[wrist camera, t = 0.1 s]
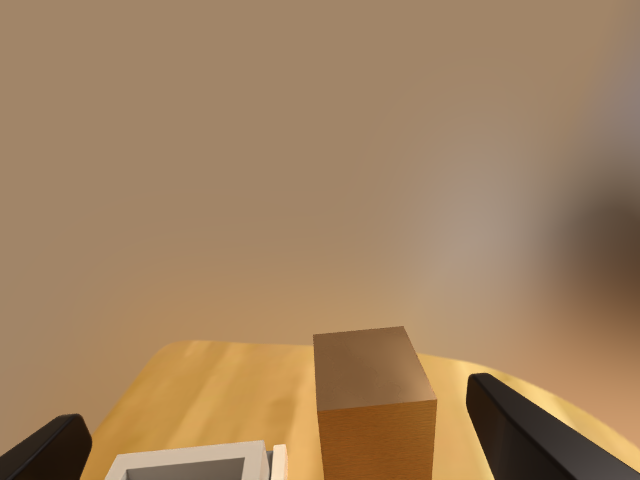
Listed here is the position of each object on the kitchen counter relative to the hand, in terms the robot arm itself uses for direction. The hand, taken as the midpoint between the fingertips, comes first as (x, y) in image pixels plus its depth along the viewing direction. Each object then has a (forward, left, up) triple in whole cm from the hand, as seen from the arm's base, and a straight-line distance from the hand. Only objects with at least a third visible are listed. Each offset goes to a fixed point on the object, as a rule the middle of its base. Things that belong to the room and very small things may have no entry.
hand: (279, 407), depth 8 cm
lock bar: (+6, -3, -17) cm, 18 cm away
